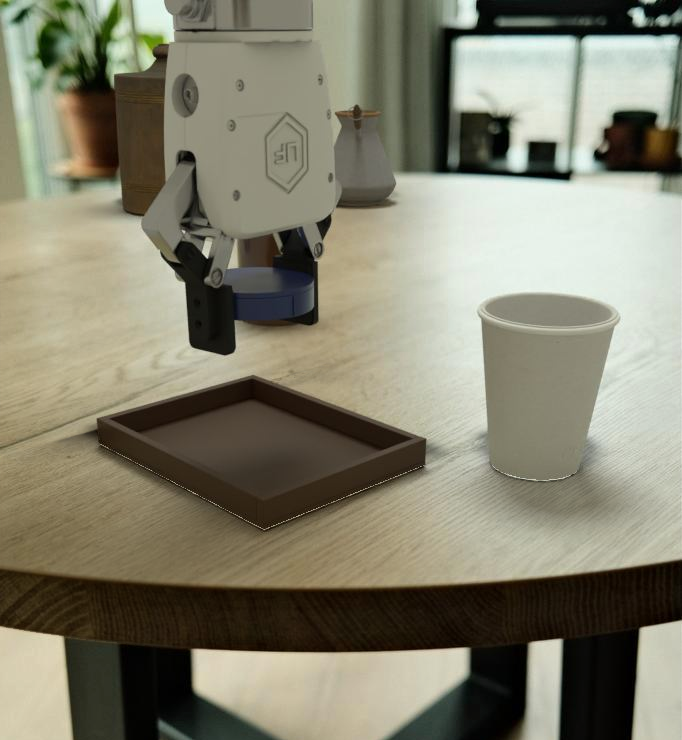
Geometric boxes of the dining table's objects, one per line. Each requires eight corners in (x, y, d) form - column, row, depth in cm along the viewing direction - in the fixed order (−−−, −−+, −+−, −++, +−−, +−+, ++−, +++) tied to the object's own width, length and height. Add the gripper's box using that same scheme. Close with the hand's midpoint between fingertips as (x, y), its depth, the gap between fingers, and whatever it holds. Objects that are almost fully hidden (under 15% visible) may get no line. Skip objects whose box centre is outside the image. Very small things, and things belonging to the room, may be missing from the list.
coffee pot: (322, 195, 160) (321, 93, 153) (395, 196, 159) (398, 93, 153) (313, 220, 141) (312, 104, 134) (396, 221, 140) (399, 104, 134)
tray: (98, 444, 67) (95, 418, 67) (254, 398, 76) (253, 374, 75) (264, 531, 56) (263, 500, 55) (425, 466, 64) (426, 438, 63)
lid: (339, 307, 61) (339, 280, 61) (247, 328, 57) (246, 299, 56) (263, 287, 66) (263, 262, 65) (173, 304, 61) (171, 278, 61)
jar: (225, 327, 93) (219, 210, 88) (280, 314, 97) (277, 201, 92) (271, 343, 88) (268, 220, 84) (327, 328, 92) (327, 211, 88)
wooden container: (244, 209, 148) (238, 43, 139) (154, 220, 140) (141, 45, 131) (191, 196, 159) (182, 41, 149) (105, 206, 151) (89, 43, 141)
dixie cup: (441, 459, 65) (448, 306, 61) (527, 429, 70) (540, 284, 66) (541, 503, 59) (557, 336, 55) (628, 467, 64) (650, 311, 60)
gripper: (177, 11, 46) (202, 384, 54) (392, 12, 59) (387, 315, 66) (68, 12, 50) (106, 359, 58) (291, 12, 63) (297, 298, 71)
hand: (256, 333), depth 62 cm, fingers closed on lid, 7 cm apart
